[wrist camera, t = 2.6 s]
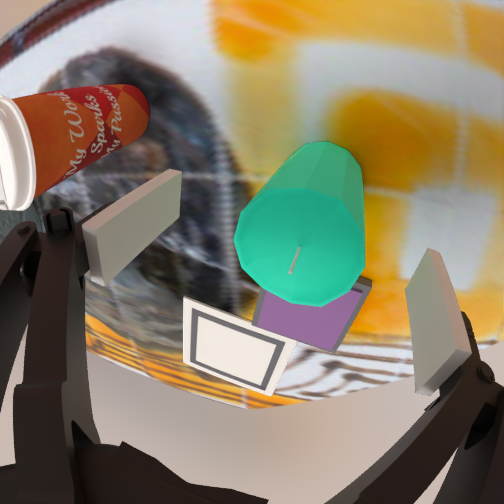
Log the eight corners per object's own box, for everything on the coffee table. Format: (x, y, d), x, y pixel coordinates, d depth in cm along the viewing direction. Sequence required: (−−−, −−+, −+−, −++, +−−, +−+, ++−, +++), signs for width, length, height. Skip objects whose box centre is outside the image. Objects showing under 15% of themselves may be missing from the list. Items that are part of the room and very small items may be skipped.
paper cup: (164, 150, 24) (32, 222, 13) (103, 155, 27) (-13, 217, 15) (155, 63, 20) (3, 83, 9) (93, 81, 23) (-36, 116, 11)
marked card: (298, 337, 31) (297, 340, 30) (271, 394, 38) (270, 397, 38) (184, 295, 33) (183, 297, 32) (184, 360, 40) (182, 362, 40)
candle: (375, 203, 21) (383, 313, 11) (303, 226, 24) (259, 336, 14) (344, 128, 19) (333, 176, 9) (270, 158, 22) (194, 230, 12)
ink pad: (371, 280, 24) (371, 290, 23) (336, 345, 30) (334, 355, 28) (272, 247, 26) (267, 256, 25) (254, 318, 31) (249, 327, 30)
